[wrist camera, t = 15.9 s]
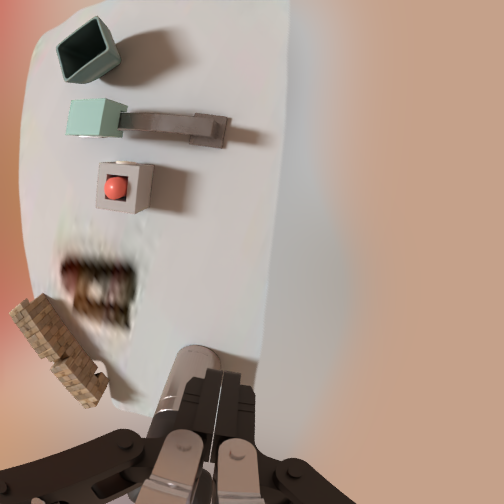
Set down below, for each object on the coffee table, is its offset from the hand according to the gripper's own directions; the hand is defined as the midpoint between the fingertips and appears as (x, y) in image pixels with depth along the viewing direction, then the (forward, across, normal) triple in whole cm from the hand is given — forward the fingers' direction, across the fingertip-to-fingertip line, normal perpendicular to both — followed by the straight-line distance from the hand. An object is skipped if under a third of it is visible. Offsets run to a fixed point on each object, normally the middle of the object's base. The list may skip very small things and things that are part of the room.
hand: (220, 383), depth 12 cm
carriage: (+31, +24, -13) cm, 41 cm away
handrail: (+35, +19, -13) cm, 42 cm away
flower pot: (+35, +30, -25) cm, 53 cm away
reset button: (+32, +20, -3) cm, 38 cm away
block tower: (+36, +38, +36) cm, 63 cm away
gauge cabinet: (+35, +20, -3) cm, 40 cm away
